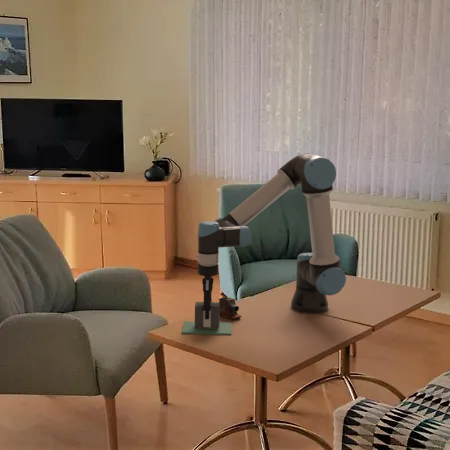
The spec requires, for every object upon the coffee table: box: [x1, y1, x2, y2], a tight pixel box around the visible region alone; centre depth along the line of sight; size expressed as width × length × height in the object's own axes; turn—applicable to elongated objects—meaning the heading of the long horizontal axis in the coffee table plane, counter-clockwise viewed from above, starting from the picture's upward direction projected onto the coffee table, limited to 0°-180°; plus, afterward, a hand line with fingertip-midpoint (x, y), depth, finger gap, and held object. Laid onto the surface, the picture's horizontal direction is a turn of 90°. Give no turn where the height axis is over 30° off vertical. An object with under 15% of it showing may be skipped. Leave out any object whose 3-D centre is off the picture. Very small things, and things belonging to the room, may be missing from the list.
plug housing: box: [194, 301, 220, 327], centre depth 253 cm, size 9×5×8 cm, turn 89°
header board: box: [181, 320, 233, 336], centre depth 253 cm, size 18×12×4 cm, turn 89°
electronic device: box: [218, 297, 242, 322], centre depth 267 cm, size 4×10×8 cm, turn 42°
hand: (207, 324), depth 254 cm, fingers closed on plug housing, 5 cm apart
